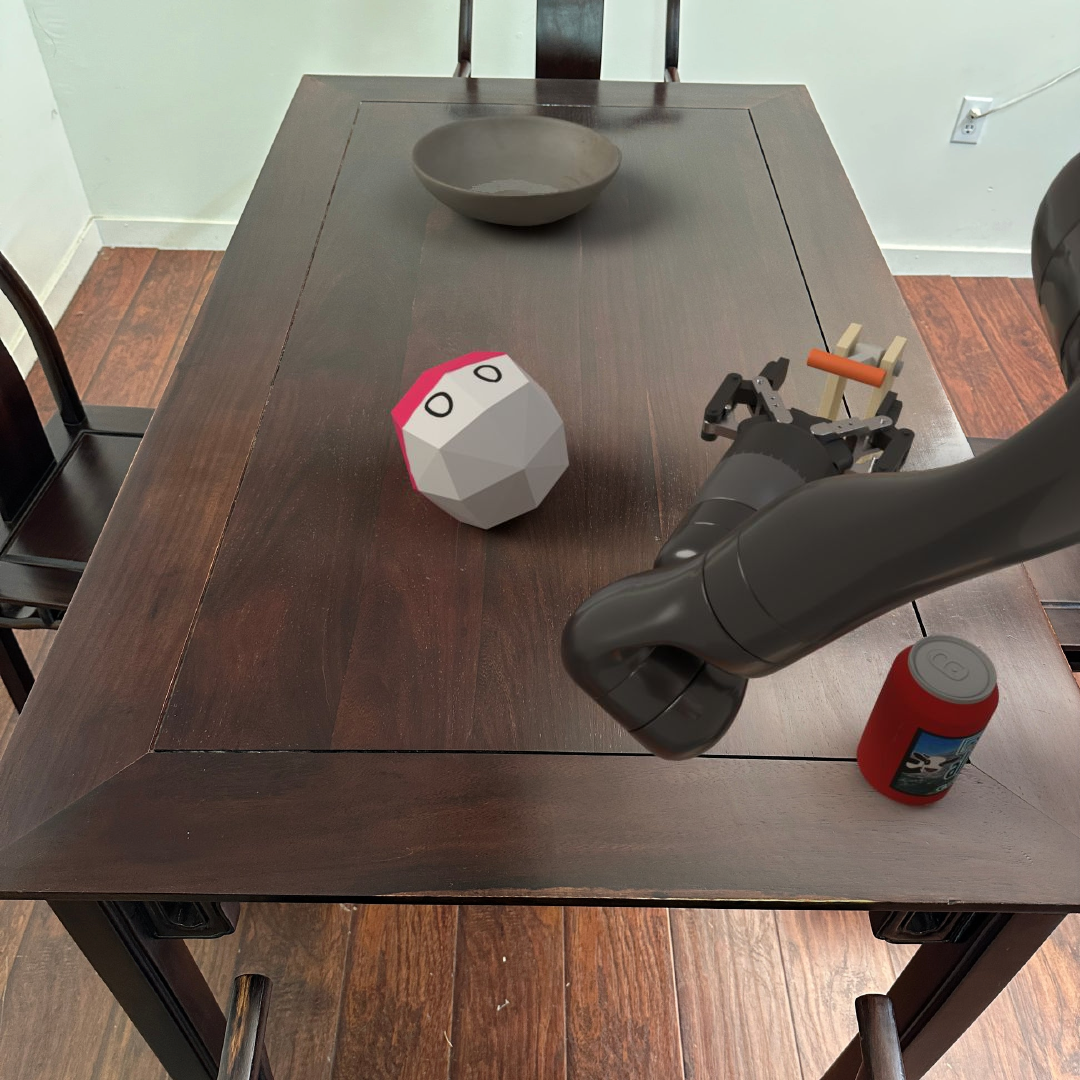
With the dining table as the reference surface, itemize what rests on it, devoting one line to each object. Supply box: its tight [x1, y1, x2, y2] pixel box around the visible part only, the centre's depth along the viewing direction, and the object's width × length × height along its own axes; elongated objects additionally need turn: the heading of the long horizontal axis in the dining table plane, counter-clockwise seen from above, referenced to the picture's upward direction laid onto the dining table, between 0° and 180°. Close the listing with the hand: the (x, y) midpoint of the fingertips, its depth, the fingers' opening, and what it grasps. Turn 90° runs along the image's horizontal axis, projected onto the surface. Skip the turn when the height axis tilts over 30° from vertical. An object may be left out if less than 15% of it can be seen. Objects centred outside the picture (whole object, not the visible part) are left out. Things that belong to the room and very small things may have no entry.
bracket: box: [817, 322, 908, 464], centre depth 89 cm, size 12×9×15 cm
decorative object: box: [390, 350, 570, 530], centre depth 86 cm, size 15×15×15 cm
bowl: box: [410, 114, 623, 227], centre depth 131 cm, size 27×28×8 cm
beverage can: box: [856, 633, 1000, 807], centre depth 65 cm, size 7×7×12 cm
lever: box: [806, 341, 887, 388], centre depth 81 cm, size 12×6×2 cm, turn 149°
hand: (835, 384), depth 75 cm, fingers open, 8 cm apart
